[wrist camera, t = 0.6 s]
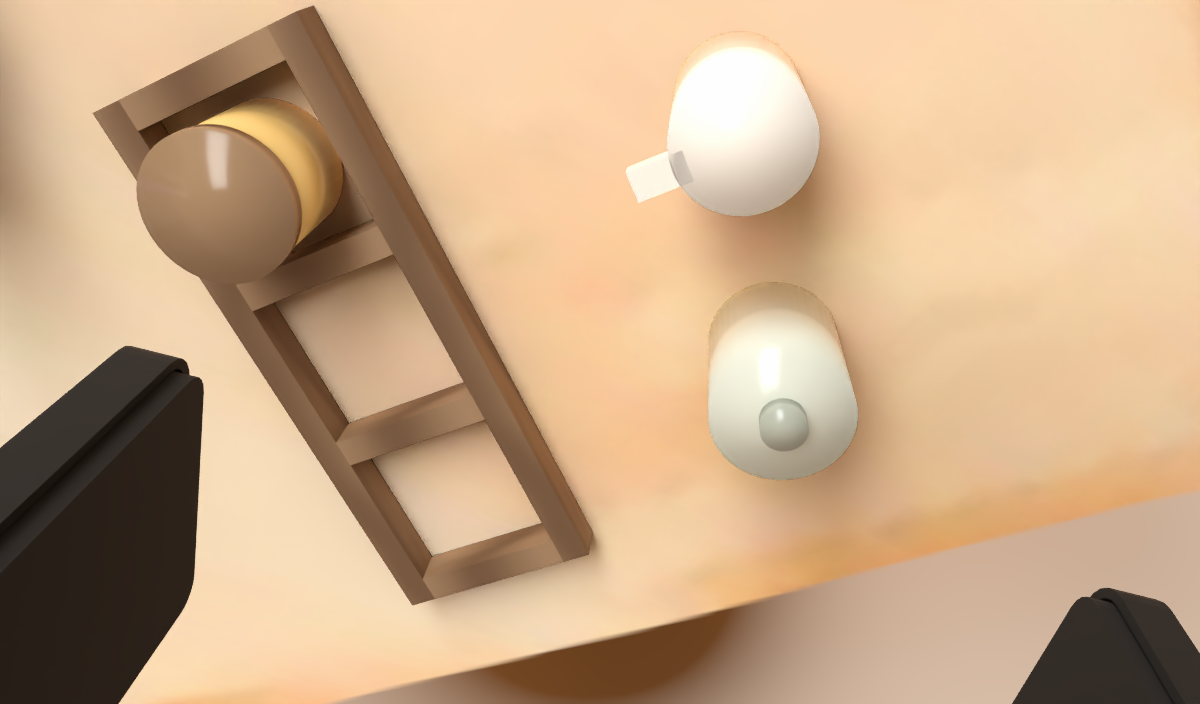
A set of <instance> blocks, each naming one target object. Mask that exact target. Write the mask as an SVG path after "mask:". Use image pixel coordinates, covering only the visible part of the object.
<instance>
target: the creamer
mask: <svg viewBox="0 0 1200 704" xmlns="http://www.w3.org/2000/svg"><path fill="white" fill-rule="evenodd" d="M819 143H820V134H819V125H818V121H817V117H816V114H815V112H814V110H813V107H812V105H811V102H810V100H809V98H808V96H807V93H806V91H805V89H804V86H803V84H802V82H801V80H800V77H799V75H798V73H797V70H796V68H795V66H794V64H793V62H792V60H791V59H790V57H789V56H788V54H787V53H786V52H785V51H784V50H783V49H782V48H781V47H780V46H779V45H778V44H776V43H775V42H774V41H772V40H770V39H769V38H767V37H765V36H762V35H759V34H756V33H751V32H743V31H737V32H728V33H723V34H720V35H717V36H715V37H713V38H711V39H709V40H707V41H705V42H704V43H702V44H701V45H699V46H698V47H697V48H696V49H695V50H694V51H693V52H692V53H691V54H690V55H689V57H688V58H687V59H686V61H685V62H684V64H683V65H682V67H681V69H680V71H679V74H678V77H677V80H676V84H675V89H674V96H673V103H672V109H671V116H670V123H669V129H668V138H667V151H666V152H664V153H661V154H659V155H656V156H654V157H651V158H649V159H646V160H644V161H641V162H639V163H637V164H634V165H632V166H629V167H627V170H626V175H627V177H628V179H629V182H630V184H631V186H632V188H633V191H634V193H635V195H636V198H637V200H638V202H642V201H644V200H647V199H649V198H652V197H655V196H657V195H660V194H662V193H665V192H667V191H670V190H672V189H675V188H678V187H680V186H681V188H682V189H683V190H684V191H685V192H686V194H687V195H688V196H689V197H691V198H692V199H693V200H694V201H695V202H697V203H698V204H700V205H701V206H703V207H705V208H707V209H709V210H711V211H714V212H717V213H720V214H724V215H729V216H751V215H757V214H761V213H764V212H767V211H770V210H772V209H774V208H777V207H778V206H780V205H782V204H783V203H785V202H786V201H788V200H789V199H790V198H792V197H793V196H794V195H795V194H796V193H797V192H798V191H799V190H800V189H801V188H802V186H803V185H804V184H805V182H806V181H807V179H808V178H809V176H810V174H811V172H812V170H813V168H814V166H815V163H816V160H817V156H818V151H819Z"/></svg>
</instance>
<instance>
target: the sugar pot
mask: <svg viewBox="0 0 1200 704" xmlns="http://www.w3.org/2000/svg"><path fill="white" fill-rule="evenodd" d="M708 384H709V428H710V433H711V435H712V438H713V441H714V443H715V445H716V446H717V448H718V449H719V451H720V452H721V454H722V455H723V456H724V457H725V458H726V459H727V460H728V461H729V462H731V463H732V464H733V465H734V466H736V467H737V468H739V469H741V470H742V471H744V472H747V473H749V474H751V475H754V476H757V477H761V478H766V479H773V480H790V479H798V478H802V477H806V476H809V475H812V474H815V473H817V472H819V471H821V470H823V469H825V468H826V467H828V466H829V465H831V464H832V463H833V462H835V461H836V460H837V459H838V458H839V457H840V456H841V455H842V454H843V453H844V452H845V450H846V449H847V448H848V446H849V445H850V443H851V441H852V439H853V437H854V434H855V431H856V428H857V423H858V407H857V402H856V398H855V395H854V391H853V388H852V384H851V380H850V377H849V373H848V370H847V366H846V362H845V359H844V355H843V352H842V348H841V344H840V341H839V337H838V334H837V330H836V326H835V323H834V320H833V318H832V315H831V313H830V312H829V310H828V308H827V307H826V306H825V305H824V303H823V302H822V301H821V300H820V299H819V298H817V297H816V296H815V295H814V294H812V293H811V292H809V291H807V290H805V289H803V288H801V287H798V286H795V285H791V284H786V283H777V282H774V283H763V284H758V285H754V286H751V287H748V288H746V289H743V290H742V291H740V292H738V293H736V294H735V295H733V296H732V297H731V298H729V299H728V300H727V301H726V302H725V303H724V304H723V305H722V306H721V308H720V309H719V310H718V312H717V313H716V315H715V317H714V319H713V321H712V324H711V327H710V331H709V339H708Z"/></svg>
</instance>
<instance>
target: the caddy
mask: <svg viewBox="0 0 1200 704" xmlns="http://www.w3.org/2000/svg"><path fill="white" fill-rule="evenodd" d="M285 60H286V62H287V64H288V65H289V67H290V69H291V71H292V73H293V75H294V76H295V78H296V80H297V82H298V84H299V85H300V87H301V89H302V91H303V93H304V94H305V96H306V98H307V100H308V102H309V103H310V105H311V107H312V109H313V111H314V112H315V114H316V116H317V118H318V120H319V121H320V123H321V125H322V127H323V129H324V130H325V132H326V134H327V136H328V138H329V139H330V141H331V143H332V145H333V147H334V148H335V150H336V152H337V154H338V156H339V157H340V159H341V161H342V163H343V165H344V167H345V168H346V170H347V172H348V174H349V176H350V177H351V179H352V181H353V183H354V185H355V186H356V188H357V190H358V192H359V194H360V195H361V197H362V199H363V201H364V203H365V204H366V206H367V208H368V210H369V212H370V213H371V215H372V217H373V220H371V221H368V222H366V223H364V224H361V225H359V226H356V227H354V228H352V229H349V230H347V231H344V232H342V233H340V234H337V235H335V236H332V237H330V238H328V239H325V240H323V241H321V242H318V243H316V244H313V245H311V246H309V247H306V248H304V249H301V250H299V251H297V252H294V253H292V254H290V255H289V256H288V257H287V258H286V259H285V260H284V261H283V262H282V263H281V264H280V265H279V266H278V267H277V268H276V269H274V270H273V271H272V272H270V273H269V274H268V275H266V276H264V277H262V278H260V279H258V280H255V281H252V282H248V283H242V284H223V283H217V282H212V281H209V280H206V279H203V278H200V277H199V278H200V279H201V281H202V282H203V284H204V285H205V287H206V288H207V290H208V291H209V293H210V295H211V296H212V298H213V299H214V301H215V302H216V304H217V305H218V307H219V308H220V310H221V311H222V313H223V315H224V316H225V318H226V319H227V321H228V322H229V324H230V325H231V327H232V328H233V330H234V331H235V333H236V335H237V336H238V338H239V339H240V341H241V342H242V344H243V345H244V347H245V348H246V350H247V351H248V353H249V355H250V356H251V358H252V359H253V361H254V362H255V364H256V365H257V367H258V368H259V370H260V372H261V373H262V375H263V376H264V378H265V379H266V381H267V382H268V384H269V385H270V387H271V388H272V390H273V392H274V393H275V395H276V396H277V398H278V399H279V401H280V402H281V404H282V405H283V407H284V408H285V410H286V412H287V413H288V415H289V416H290V418H291V419H292V421H293V422H294V424H295V425H296V427H297V428H298V430H299V432H300V433H301V435H302V436H303V438H304V439H305V441H306V442H307V444H308V445H309V447H310V448H311V450H312V452H313V453H314V455H315V456H316V458H317V459H318V461H319V462H320V464H321V465H322V467H323V468H324V470H325V472H326V473H327V475H328V476H329V478H330V479H331V481H332V482H333V484H334V485H335V487H336V489H337V490H338V492H339V493H340V495H341V496H342V498H343V499H344V501H345V502H346V504H347V505H348V507H349V509H350V510H351V512H352V513H353V515H354V516H355V518H356V519H357V521H358V522H359V524H360V525H361V527H362V529H363V530H364V532H365V533H366V535H367V536H368V538H369V539H370V541H371V542H372V544H373V545H374V547H375V549H376V550H377V552H378V553H379V555H380V556H381V558H382V559H383V561H384V562H385V564H386V565H387V567H388V569H389V570H390V572H391V573H392V575H393V576H394V578H395V579H396V581H397V582H398V584H399V585H400V587H401V589H402V590H403V592H404V593H405V595H406V596H407V598H408V599H409V601H410V602H411V604H412V605H416V604H419V603H422V602H426V601H429V600H433V599H436V598H440V597H443V596H447V595H450V594H454V593H457V592H461V591H464V590H468V589H471V588H474V587H478V586H481V585H485V584H488V583H492V582H495V581H499V580H502V579H506V578H509V577H513V576H516V575H520V574H523V573H526V572H530V571H533V570H537V569H540V568H544V567H547V566H551V565H554V564H558V563H561V562H565V561H568V560H572V559H575V558H578V557H582V556H585V555H589V549H590V543H591V537H592V530H591V528H590V526H589V524H588V522H587V521H586V519H585V517H584V515H583V513H582V511H581V509H580V507H579V505H578V504H577V502H576V500H575V498H574V496H573V494H572V492H571V490H570V488H569V487H568V485H567V483H566V481H565V479H564V477H563V475H562V473H561V472H560V470H559V468H558V466H557V464H556V462H555V460H554V458H553V456H552V455H551V453H550V451H549V449H548V447H547V445H546V443H545V441H544V439H543V438H542V436H541V434H540V432H539V430H538V428H537V426H536V424H535V423H534V421H533V419H532V417H531V415H530V413H529V411H528V409H527V407H526V406H525V404H524V402H523V400H522V398H521V396H520V394H519V392H518V390H517V389H516V387H515V385H514V383H513V381H512V379H511V377H510V375H509V374H508V372H507V370H506V368H505V366H504V364H503V362H502V360H501V358H500V357H499V355H498V353H497V351H496V349H495V347H494V345H493V343H492V341H491V340H490V338H489V336H488V334H487V332H486V330H485V328H484V326H483V325H482V323H481V321H480V319H479V317H478V315H477V313H476V311H475V309H474V308H473V306H472V304H471V302H470V300H469V298H468V296H467V294H466V292H465V291H464V289H463V287H462V285H461V283H460V281H459V279H458V277H457V276H456V274H455V272H454V270H453V268H452V266H451V264H450V262H449V260H448V259H447V257H446V255H445V253H444V251H443V249H442V247H441V245H440V243H439V242H438V240H437V238H436V236H435V234H434V232H433V230H432V228H431V227H430V225H429V223H428V221H427V219H426V217H425V215H424V213H423V211H422V210H421V208H420V206H419V204H418V202H417V200H416V198H415V196H414V194H413V193H412V191H411V189H410V187H409V185H408V183H407V181H406V179H405V178H404V176H403V174H402V172H401V170H400V168H399V166H398V164H397V162H396V161H395V159H394V157H393V155H392V153H391V151H390V149H389V147H388V145H387V144H386V142H385V140H384V138H383V136H382V134H381V132H380V130H379V129H378V127H377V125H376V123H375V121H374V119H373V117H372V115H371V113H370V112H369V110H368V108H367V106H366V104H365V102H364V100H363V98H362V96H361V95H360V93H359V91H358V89H357V87H356V85H355V83H354V81H353V80H352V78H351V76H350V74H349V72H348V70H347V68H346V66H345V64H344V63H343V61H342V59H341V57H340V55H339V53H338V51H337V49H336V47H335V46H334V44H333V42H332V40H331V38H330V36H329V34H328V32H327V31H326V29H325V27H324V25H323V23H322V21H321V19H320V17H319V15H318V14H317V12H316V10H315V8H314V6H311V7H308V8H305V9H302V10H299V11H296V12H294V13H292V14H290V15H288V16H286V17H284V18H282V19H280V20H278V21H276V22H274V23H272V24H270V25H268V26H266V27H264V28H262V29H260V30H258V31H256V32H254V33H252V34H250V35H248V36H246V37H244V38H242V39H240V40H238V41H236V42H234V43H232V44H230V45H228V46H226V47H224V48H222V49H220V50H218V51H216V52H214V53H212V54H210V55H208V56H206V57H204V58H202V59H200V60H198V61H196V62H194V63H192V64H190V65H188V66H186V67H184V68H182V69H180V70H178V71H176V72H174V73H172V74H170V75H168V76H166V77H164V78H162V79H160V80H158V81H156V82H154V83H152V84H150V85H148V86H146V87H144V88H142V89H140V90H138V91H136V92H134V93H132V94H130V95H128V96H126V97H124V98H122V99H120V100H118V101H116V102H114V103H112V104H110V105H108V106H106V107H104V108H102V109H100V110H98V111H96V112H94V113H93V114H94V116H95V118H96V119H97V121H98V122H99V124H100V125H101V127H102V128H103V130H104V131H105V133H106V134H107V136H108V138H109V139H110V141H111V142H112V144H113V145H114V147H115V148H116V150H117V151H118V153H119V154H120V156H121V158H122V159H123V161H124V162H125V164H126V165H127V167H128V168H129V170H130V171H131V173H132V174H133V176H134V178H135V179H136V181H137V179H138V174H139V170H140V167H141V165H142V162H143V160H144V159H145V157H146V155H147V154H148V152H149V151H150V150H151V149H152V148H153V146H155V145H156V144H157V143H158V142H159V141H161V140H162V139H164V138H165V137H167V136H169V134H168V132H167V130H166V129H165V127H164V126H163V124H162V122H161V120H163V119H165V118H167V117H169V116H171V115H173V114H175V113H178V112H180V111H182V110H184V109H186V108H188V107H190V106H192V105H194V104H196V103H198V102H200V101H202V100H204V99H206V98H208V97H211V96H213V95H215V94H217V93H219V92H221V91H223V90H225V89H227V88H229V87H231V86H233V85H235V84H237V83H239V82H241V81H244V80H246V79H248V78H250V77H252V76H254V75H256V74H258V73H260V72H262V71H264V70H266V69H268V68H270V67H272V66H274V65H277V64H279V63H281V62H283V61H285ZM390 255H394V257H395V259H396V260H397V262H398V264H399V266H400V268H401V269H402V271H403V273H404V275H405V277H406V278H407V280H408V282H409V284H410V286H411V287H412V289H413V291H414V293H415V295H416V296H417V298H418V300H419V302H420V304H421V305H422V307H423V309H424V311H425V313H426V314H427V316H428V318H429V320H430V322H431V323H432V325H433V327H434V329H435V331H436V332H437V334H438V336H439V338H440V340H441V341H442V343H443V345H444V347H445V349H446V351H447V352H448V354H449V356H450V358H451V360H452V361H453V363H454V365H455V367H456V369H457V370H458V372H459V374H460V376H461V378H462V379H463V381H464V382H463V383H461V384H458V385H455V386H452V387H449V388H447V389H444V390H441V391H438V392H435V393H432V394H430V395H427V396H424V397H421V398H418V399H416V400H413V401H410V402H407V403H404V404H401V405H399V406H396V407H393V408H390V409H387V410H385V411H382V412H379V413H376V414H373V415H370V416H368V417H365V418H362V419H359V420H356V421H354V422H351V423H348V421H347V420H346V418H345V416H344V415H343V413H342V412H341V410H340V408H339V407H338V405H337V404H336V402H335V400H334V399H333V397H332V395H331V394H330V392H329V391H328V389H327V387H326V386H325V384H324V383H323V381H322V379H321V378H320V376H319V375H318V373H317V371H316V370H315V368H314V367H313V365H312V363H311V362H310V360H309V359H308V357H307V355H306V354H305V352H304V351H303V349H302V347H301V346H300V344H299V342H298V341H297V339H296V338H295V336H294V334H293V333H292V331H291V330H290V328H289V326H288V325H287V323H286V322H285V320H284V318H283V317H282V315H281V314H280V312H279V310H278V309H277V307H276V306H275V304H274V302H277V301H279V300H282V299H284V298H287V297H289V296H292V295H294V294H297V293H299V292H301V291H304V290H306V289H309V288H311V287H314V286H316V285H319V284H321V283H324V282H326V281H329V280H331V279H334V278H336V277H339V276H341V275H343V274H346V273H348V272H351V271H353V270H356V269H358V268H361V267H363V266H366V265H368V264H371V263H373V262H376V261H378V260H381V259H383V258H385V257H388V256H390ZM482 420H485V421H486V423H487V424H488V426H489V428H490V430H491V432H492V433H493V435H494V437H495V439H496V441H497V443H498V444H499V446H500V448H501V450H502V452H503V453H504V455H505V457H506V459H507V461H508V462H509V464H510V466H511V468H512V470H513V471H514V473H515V475H516V477H517V479H518V480H519V482H520V484H521V486H522V488H523V489H524V491H525V493H526V495H527V497H528V498H529V500H530V502H531V504H532V506H533V507H534V509H535V511H536V513H537V515H538V516H539V518H540V520H541V522H542V523H541V524H537V525H534V526H531V527H528V528H524V529H521V530H518V531H514V532H511V533H508V534H504V535H501V536H498V537H494V538H491V539H488V540H485V541H481V542H478V543H475V544H471V545H468V546H465V547H461V548H458V549H455V550H451V551H448V552H445V553H442V554H438V555H435V556H431V555H430V553H429V551H428V550H427V548H426V546H425V545H424V543H423V542H422V540H421V538H420V537H419V535H418V534H417V532H416V530H415V529H414V527H413V526H412V524H411V522H410V521H409V519H408V518H407V516H406V514H405V513H404V511H403V510H402V508H401V506H400V505H399V503H398V501H397V500H396V498H395V497H394V495H393V493H392V492H391V490H390V489H389V487H388V485H387V484H386V482H385V481H384V479H383V477H382V476H381V474H380V473H379V471H378V469H377V468H376V466H375V465H374V463H373V461H372V460H371V458H374V457H377V456H380V455H383V454H385V453H388V452H391V451H394V450H397V449H400V448H403V447H406V446H409V445H412V444H415V443H418V442H421V441H424V440H427V439H430V438H432V437H435V436H438V435H441V434H444V433H447V432H450V431H453V430H456V429H459V428H462V427H465V426H468V425H471V424H474V423H477V422H479V421H482Z"/></svg>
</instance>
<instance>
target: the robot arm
mask: <svg viewBox="0 0 1200 704" xmlns="http://www.w3.org/2000/svg"><path fill="white" fill-rule="evenodd" d="M203 395H204V389H203V383H202V380H201V379H200V378H199V377H195V376H191V375H189V368H188V365H187V362H186V361H184V360H183V359H181V358H177V357H173V356H169V355H165V354H161V353H157V352H153V351H149V350H145V349H141V348H137V347H133V346H125V347H123V348H121V349H119V350H118V351H117V352H115V353H114V354H113V355H112V356H111V357H109V358H108V359H107V360H106V361H104V362H103V363H102V364H101V365H100V366H98V367H97V368H96V369H95V370H94V371H92V372H91V373H90V374H89V375H88V376H86V377H85V378H84V379H83V380H82V381H80V382H79V383H78V384H77V385H76V386H74V387H73V388H72V389H71V390H69V391H68V392H67V393H66V394H65V395H63V396H62V397H61V398H60V399H59V400H57V401H56V402H55V403H54V404H53V405H51V406H50V407H49V408H48V409H47V410H45V411H44V412H43V413H42V414H41V415H39V416H38V417H37V418H36V419H35V420H33V421H32V422H31V423H30V424H28V425H27V426H26V427H25V428H24V429H22V430H21V431H20V432H19V433H18V434H16V435H15V436H14V437H13V438H12V439H10V440H9V441H8V442H7V443H6V444H4V445H3V446H2V447H1V448H0V704H119V702H120V701H121V699H122V698H123V696H124V695H125V693H126V692H127V690H128V689H129V688H130V686H131V685H132V683H133V682H134V680H135V679H136V677H137V676H138V675H139V673H140V672H141V670H142V669H143V667H144V666H145V664H146V663H147V661H148V660H149V659H150V657H151V656H152V654H153V653H154V651H155V650H156V648H157V647H158V646H159V644H160V643H161V641H162V640H163V638H164V637H165V635H166V634H167V632H168V631H169V630H170V628H171V627H172V625H173V624H174V622H175V621H176V619H177V618H178V617H179V615H180V614H181V612H182V610H183V609H184V607H185V605H186V602H187V600H188V598H189V595H190V592H191V589H192V585H193V580H194V569H195V550H196V531H197V511H198V492H199V473H200V453H201V434H202V414H203ZM1012 704H1200V653H1199V652H1198V650H1197V649H1196V647H1195V646H1194V644H1193V643H1192V641H1191V640H1190V638H1189V636H1188V635H1187V633H1186V632H1185V630H1184V629H1183V627H1182V626H1181V624H1180V623H1179V621H1178V620H1177V618H1176V617H1175V615H1174V614H1173V612H1172V611H1171V609H1170V608H1169V607H1168V606H1167V605H1166V604H1165V603H1163V602H1161V601H1158V600H1156V599H1151V598H1147V597H1144V596H1140V595H1135V594H1131V593H1127V592H1123V591H1119V590H1115V589H1111V588H1102V589H1099V590H1098V591H1096V592H1095V593H1093V594H1092V596H1091V597H1081V598H1080V599H1078V600H1077V601H1076V602H1075V603H1074V604H1073V605H1072V607H1071V608H1070V610H1069V612H1068V613H1067V615H1066V617H1065V619H1064V620H1063V621H1062V623H1061V625H1060V626H1059V628H1058V630H1057V631H1056V633H1055V635H1054V636H1053V638H1052V639H1051V641H1050V643H1049V645H1048V646H1047V648H1046V649H1045V651H1044V652H1043V654H1042V656H1041V657H1040V659H1039V661H1038V662H1037V664H1036V666H1035V667H1034V669H1033V671H1032V672H1031V674H1030V675H1029V677H1028V679H1027V680H1026V682H1025V684H1024V685H1023V687H1022V688H1021V690H1020V692H1019V693H1018V695H1017V697H1016V698H1015V700H1014V701H1013V703H1012Z"/></svg>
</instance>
